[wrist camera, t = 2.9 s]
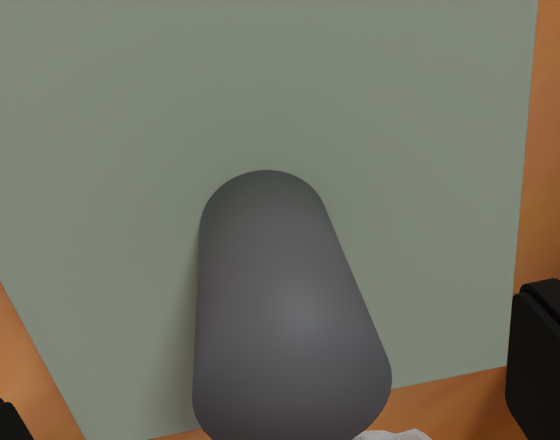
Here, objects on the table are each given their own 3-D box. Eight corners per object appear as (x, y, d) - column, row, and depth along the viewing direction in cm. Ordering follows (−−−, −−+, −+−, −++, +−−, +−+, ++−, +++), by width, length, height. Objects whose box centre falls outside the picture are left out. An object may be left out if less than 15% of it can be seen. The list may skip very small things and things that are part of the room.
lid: (525, -134, 12) (867, -212, 6) (492, 346, 19) (624, 537, 13) (-128, -14, 11) (-525, 41, 5) (97, 427, 19) (41, 662, 13)
